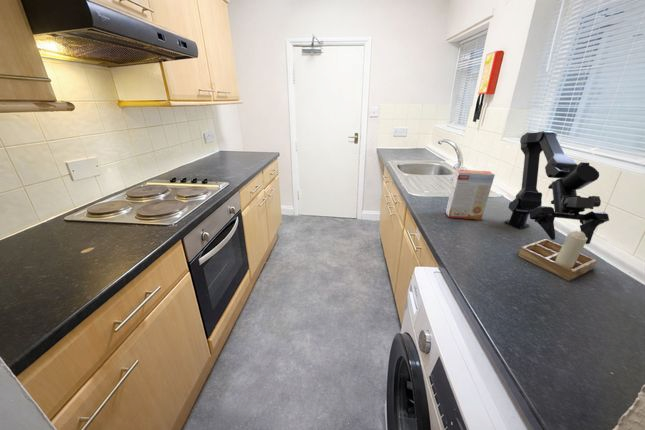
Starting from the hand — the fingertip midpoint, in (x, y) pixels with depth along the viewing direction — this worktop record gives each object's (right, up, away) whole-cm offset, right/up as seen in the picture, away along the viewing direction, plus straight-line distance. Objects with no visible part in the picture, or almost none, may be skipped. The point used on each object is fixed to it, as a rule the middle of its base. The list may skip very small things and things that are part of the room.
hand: (570, 241), depth 81 cm
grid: (+1, -7, +7) cm, 10 cm away
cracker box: (-13, +7, +38) cm, 41 cm away
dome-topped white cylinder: (-1, -9, +2) cm, 9 cm away
